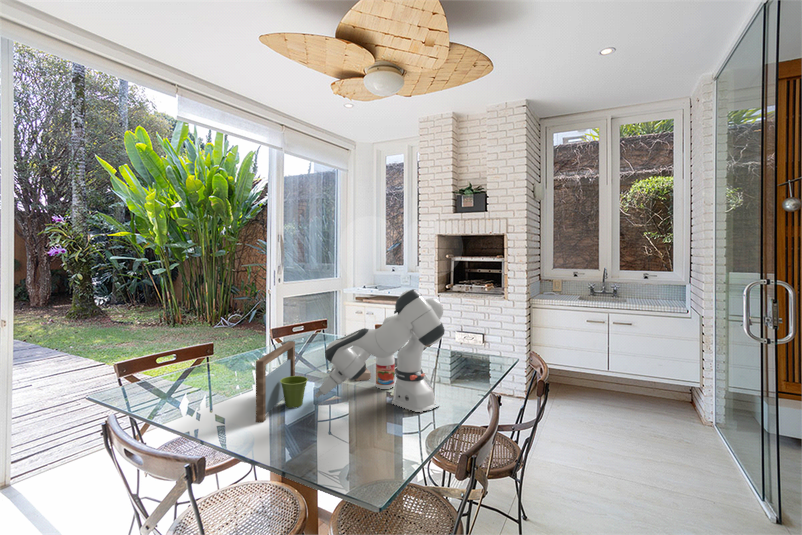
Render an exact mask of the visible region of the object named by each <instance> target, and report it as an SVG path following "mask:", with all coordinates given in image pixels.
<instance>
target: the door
mask: <svg viewBox="0 0 802 535" xmlns="http://www.w3.org/2000/svg"><path fill="white" fill-rule="evenodd" d="M290 376H291V359H289V360H287V359H286V361H285V362H283V363H281V364H280V365H279V366H277V367H276V368H274V370H272V371H271V372H269V373H268V374H267V375H266V415H267V414H268V413H269V412H270V411H271V410H272V409H274V407H276V406H277V405H278V404H279V402H281V401H282V400H283V399H284V394H283V388H282V384H281V382H280V380H281V379H283V378H285V377H290Z"/></svg>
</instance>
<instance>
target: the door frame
mask: <svg viewBox="0 0 802 535" xmlns="http://www.w3.org/2000/svg"><path fill="white" fill-rule="evenodd" d="M284 353H286V356H287V357H286V358H287V359H286V361H287V360H289V359H291V376H296V372H295V371H296V341H294V340H292V341H291V340H290V341H289V340H288V341H287V342H286V343H284V344H281V345H280V346H278V347H277V348H275V349H274V350H272V351H271V352H269V353H267V354H265V355H264V356H262V357H261V358H258V359H257V360H256V361H255V423H264V422H265V421H266V420H267V419H266V416H267V414H266V376H267V375H266V374H267V373H266V366H267V365H268V364H269V363H271V362H272V361H274V360H275V359H277V358H278V357H280V356H281V355H283V354H284Z"/></svg>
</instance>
